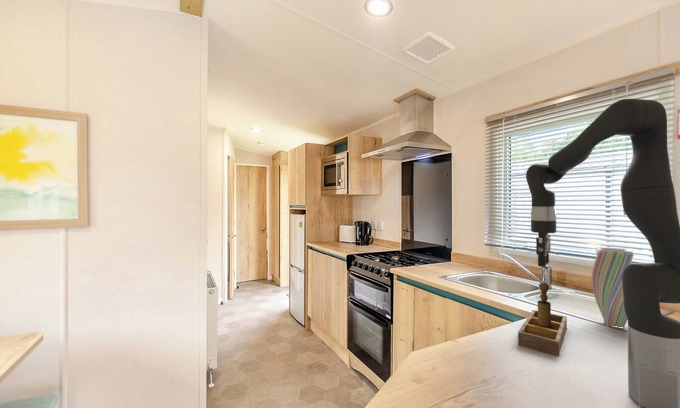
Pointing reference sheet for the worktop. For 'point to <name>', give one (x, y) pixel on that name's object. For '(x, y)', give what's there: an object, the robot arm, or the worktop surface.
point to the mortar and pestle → (544, 309)
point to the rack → (543, 334)
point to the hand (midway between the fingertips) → (543, 264)
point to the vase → (610, 283)
